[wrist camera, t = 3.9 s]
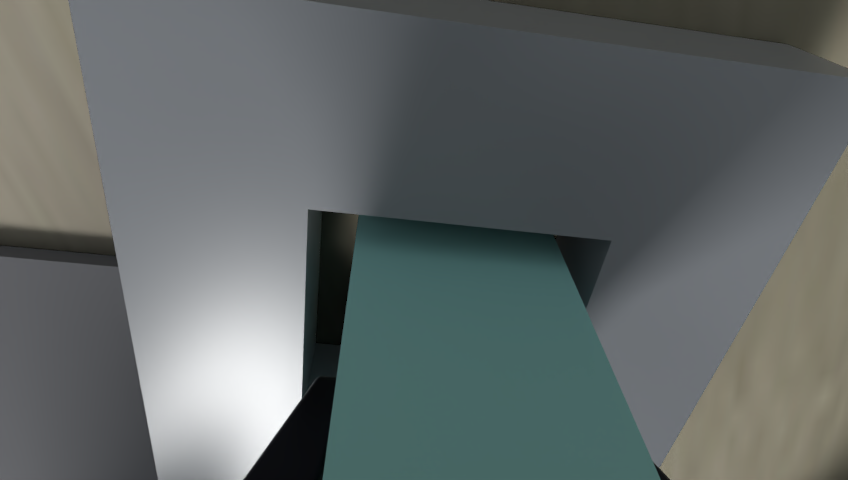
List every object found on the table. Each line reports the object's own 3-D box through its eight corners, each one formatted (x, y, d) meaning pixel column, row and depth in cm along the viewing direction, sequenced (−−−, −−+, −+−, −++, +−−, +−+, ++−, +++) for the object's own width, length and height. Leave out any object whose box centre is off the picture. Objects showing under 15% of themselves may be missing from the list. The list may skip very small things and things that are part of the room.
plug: (545, 217, 12) (835, 876, 4) (505, 352, 14) (642, 962, 6) (361, 197, 12) (267, 887, 4) (348, 339, 14) (271, 974, 6)
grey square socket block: (788, 44, 11) (883, 82, 9) (598, 445, 17) (626, 524, 15) (137, -51, 9) (61, -34, 7) (194, 420, 16) (162, 502, 14)
